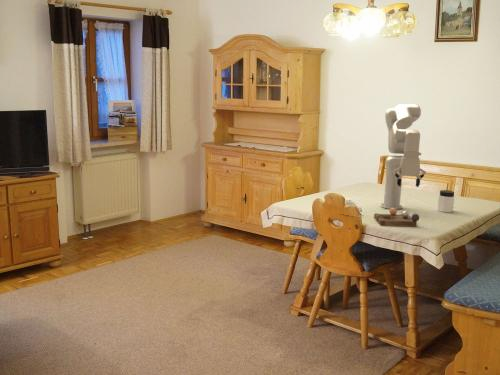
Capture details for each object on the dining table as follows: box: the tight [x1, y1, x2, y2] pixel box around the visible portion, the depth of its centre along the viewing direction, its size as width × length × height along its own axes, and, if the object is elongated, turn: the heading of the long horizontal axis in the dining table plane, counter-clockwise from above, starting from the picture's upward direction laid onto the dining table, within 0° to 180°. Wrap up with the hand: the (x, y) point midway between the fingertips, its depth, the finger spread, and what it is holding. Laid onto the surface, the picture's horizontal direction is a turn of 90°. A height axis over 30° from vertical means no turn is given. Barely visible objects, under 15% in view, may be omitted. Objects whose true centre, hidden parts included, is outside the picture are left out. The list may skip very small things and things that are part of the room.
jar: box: [437, 189, 455, 213], centre depth 337 cm, size 9×8×12 cm
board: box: [373, 213, 418, 228], centre depth 306 cm, size 16×19×2 cm
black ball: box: [411, 213, 420, 222], centre depth 299 cm, size 4×4×4 cm
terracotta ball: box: [389, 208, 398, 215], centre depth 312 cm, size 4×4×4 cm
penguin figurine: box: [345, 197, 363, 213], centre depth 322 cm, size 6×8×12 cm
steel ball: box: [401, 210, 410, 218], centre depth 305 cm, size 4×4×4 cm
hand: (408, 186), depth 302 cm, fingers open, 9 cm apart
